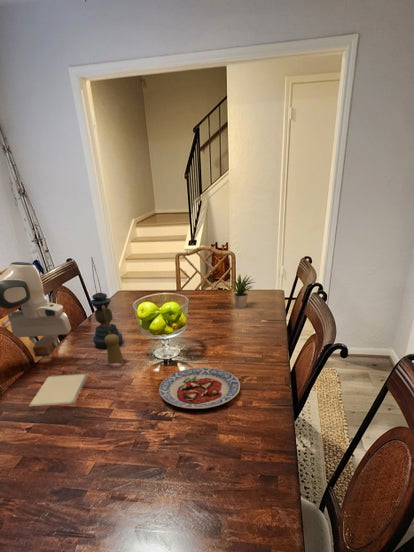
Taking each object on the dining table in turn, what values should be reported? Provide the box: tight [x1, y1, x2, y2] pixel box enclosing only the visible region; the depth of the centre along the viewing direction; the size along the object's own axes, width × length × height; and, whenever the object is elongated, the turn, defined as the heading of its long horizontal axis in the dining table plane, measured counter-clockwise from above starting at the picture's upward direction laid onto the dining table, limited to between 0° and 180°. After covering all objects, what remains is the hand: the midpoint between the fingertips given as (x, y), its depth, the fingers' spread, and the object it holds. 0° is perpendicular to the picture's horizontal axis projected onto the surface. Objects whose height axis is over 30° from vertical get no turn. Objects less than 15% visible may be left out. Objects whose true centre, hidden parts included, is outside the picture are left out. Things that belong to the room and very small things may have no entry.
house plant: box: [229, 274, 256, 309], centre depth 187 cm, size 14×14×16 cm
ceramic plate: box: [158, 367, 241, 410], centre depth 118 cm, size 26×26×3 cm
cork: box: [105, 334, 125, 365], centre depth 138 cm, size 6×6×11 cm
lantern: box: [90, 256, 123, 350], centre depth 147 cm, size 14×12×35 cm
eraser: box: [32, 335, 60, 358], centre depth 137 cm, size 5×12×4 cm, turn 3°
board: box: [28, 373, 89, 407], centre depth 123 cm, size 14×20×1 cm
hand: (46, 346), depth 138 cm, fingers closed on eraser, 5 cm apart
